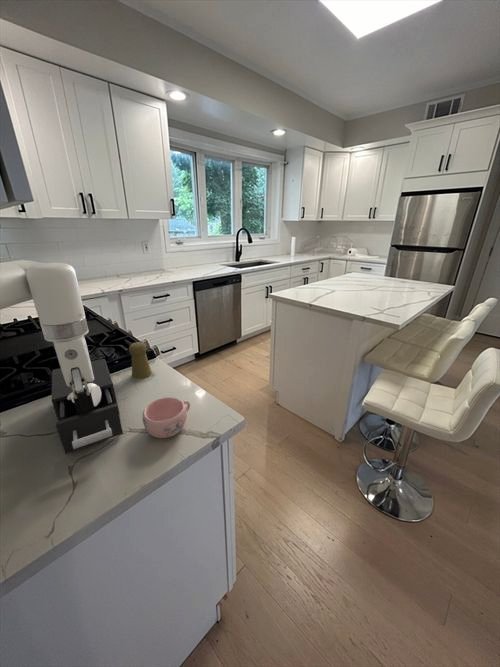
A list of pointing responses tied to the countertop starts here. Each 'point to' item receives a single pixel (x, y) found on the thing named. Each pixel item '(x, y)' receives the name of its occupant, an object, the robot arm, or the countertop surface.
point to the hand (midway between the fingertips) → (84, 402)
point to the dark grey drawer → (88, 423)
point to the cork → (139, 361)
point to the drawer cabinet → (100, 379)
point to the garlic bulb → (94, 392)
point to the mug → (165, 416)
